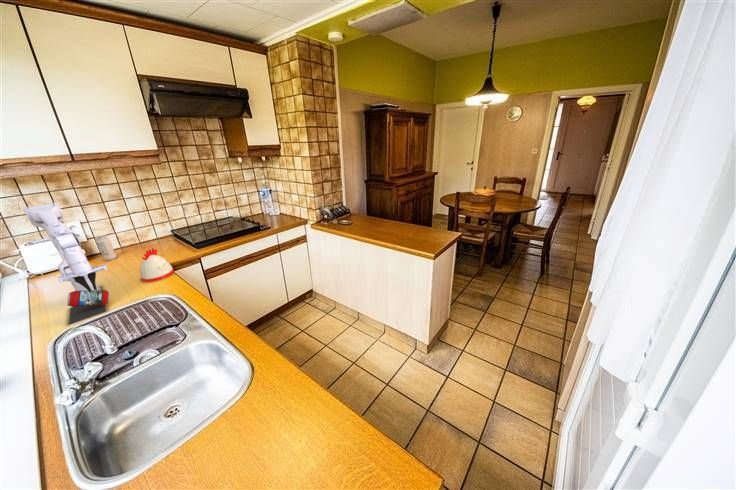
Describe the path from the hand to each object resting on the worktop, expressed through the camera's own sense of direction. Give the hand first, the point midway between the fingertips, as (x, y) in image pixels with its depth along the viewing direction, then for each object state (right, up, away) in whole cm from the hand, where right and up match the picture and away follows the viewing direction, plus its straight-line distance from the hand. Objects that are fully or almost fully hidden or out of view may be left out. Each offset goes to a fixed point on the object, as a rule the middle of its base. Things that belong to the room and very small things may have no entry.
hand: (92, 289), depth 115 cm
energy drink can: (-44, +10, +53) cm, 70 cm away
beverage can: (+3, -4, +4) cm, 7 cm away
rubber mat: (-3, -9, +1) cm, 10 cm away
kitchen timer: (+6, +3, +29) cm, 29 cm away
